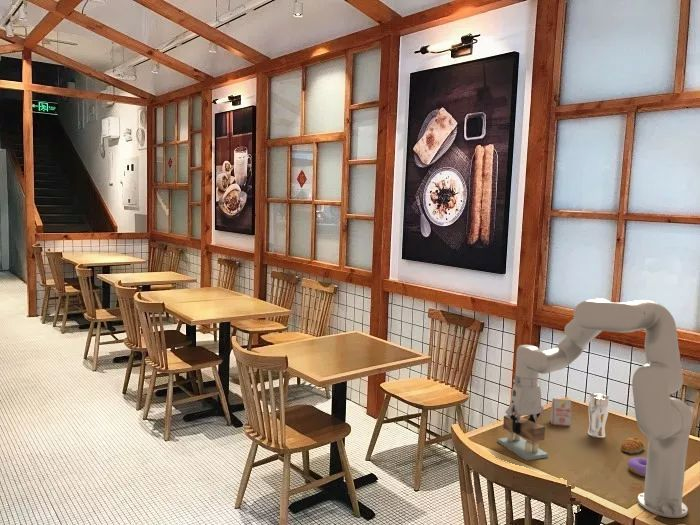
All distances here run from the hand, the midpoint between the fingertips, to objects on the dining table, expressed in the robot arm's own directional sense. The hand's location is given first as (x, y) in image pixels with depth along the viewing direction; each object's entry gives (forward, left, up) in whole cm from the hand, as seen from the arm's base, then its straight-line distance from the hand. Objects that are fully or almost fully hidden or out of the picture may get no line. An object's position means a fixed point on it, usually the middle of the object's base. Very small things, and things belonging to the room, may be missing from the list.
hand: (523, 431), depth 199 cm
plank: (0, 0, -1) cm, 1 cm away
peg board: (0, 0, -7) cm, 7 cm away
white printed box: (+31, -16, -7) cm, 35 cm away
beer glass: (+23, -28, -7) cm, 37 cm away
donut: (-6, -37, -7) cm, 39 cm away
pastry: (+12, -38, -7) cm, 41 cm away
